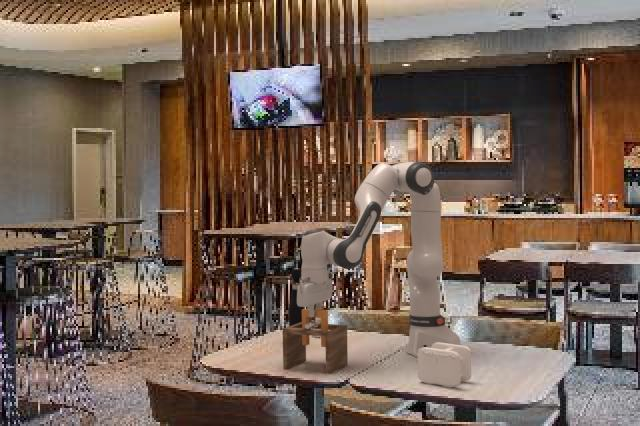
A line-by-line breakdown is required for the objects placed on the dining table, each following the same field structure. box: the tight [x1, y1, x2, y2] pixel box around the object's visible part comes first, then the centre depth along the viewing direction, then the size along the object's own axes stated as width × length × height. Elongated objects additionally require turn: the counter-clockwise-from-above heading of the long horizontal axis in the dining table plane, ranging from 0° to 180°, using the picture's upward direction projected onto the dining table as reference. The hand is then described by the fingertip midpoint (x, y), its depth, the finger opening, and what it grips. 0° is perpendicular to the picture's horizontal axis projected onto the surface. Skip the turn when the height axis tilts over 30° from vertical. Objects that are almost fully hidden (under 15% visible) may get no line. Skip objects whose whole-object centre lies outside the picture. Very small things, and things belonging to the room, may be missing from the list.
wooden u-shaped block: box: [302, 308, 329, 348], centre depth 287 cm, size 9×2×12 cm, turn 63°
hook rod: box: [304, 319, 321, 330], centre depth 287 cm, size 2×13×2 cm, turn 153°
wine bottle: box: [288, 268, 306, 327], centre depth 323 cm, size 6×6×30 cm
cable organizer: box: [417, 342, 472, 389], centre depth 262 cm, size 15×11×12 cm
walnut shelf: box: [282, 322, 349, 375], centre depth 287 cm, size 18×14×14 cm
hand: (315, 315), depth 286 cm, fingers closed on wooden u-shaped block, 2 cm apart
